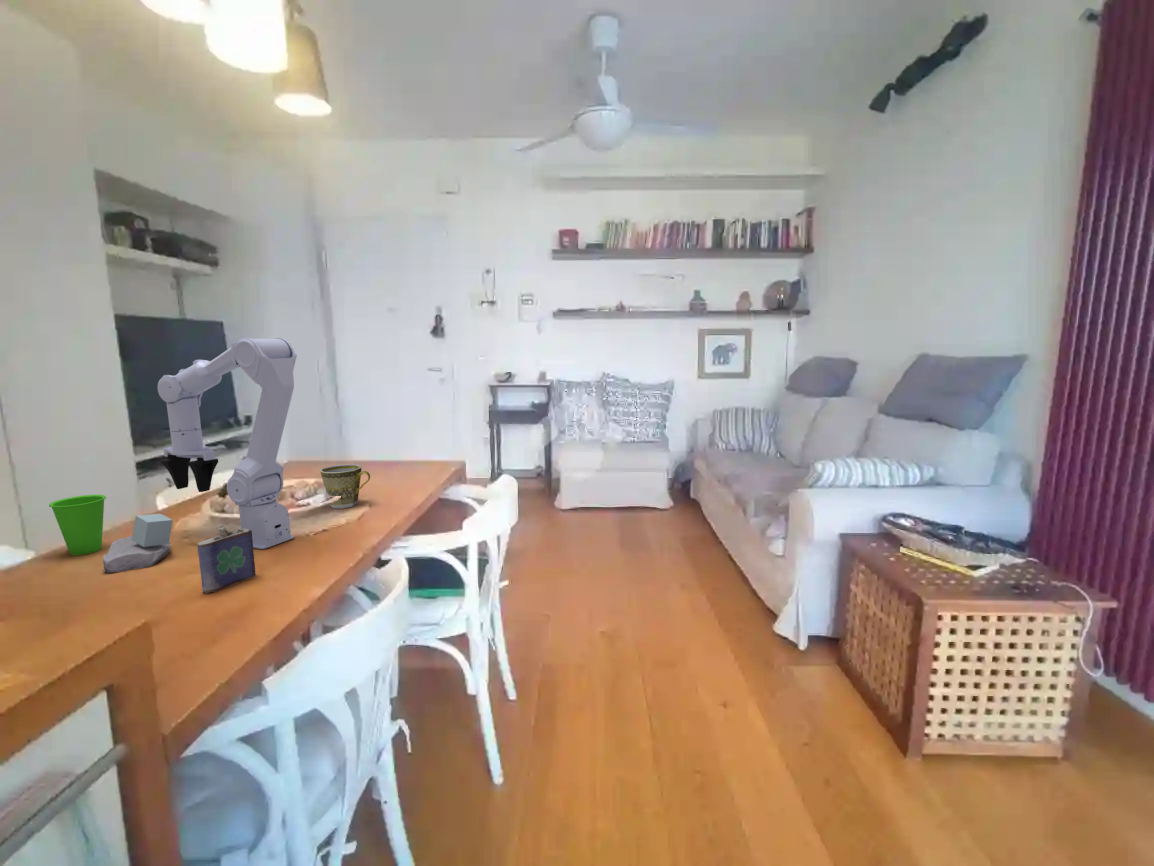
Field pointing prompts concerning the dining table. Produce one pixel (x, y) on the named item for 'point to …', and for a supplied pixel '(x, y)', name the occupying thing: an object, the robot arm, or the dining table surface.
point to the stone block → (132, 555)
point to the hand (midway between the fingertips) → (193, 489)
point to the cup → (80, 522)
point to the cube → (152, 530)
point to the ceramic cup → (343, 483)
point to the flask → (226, 559)
